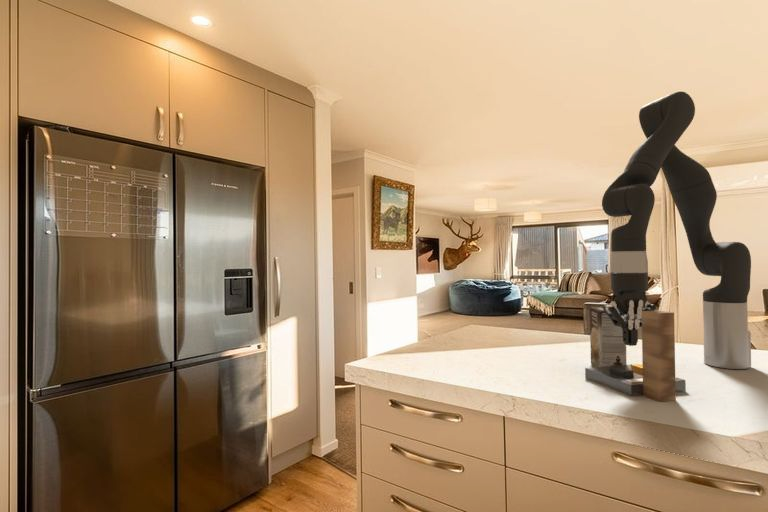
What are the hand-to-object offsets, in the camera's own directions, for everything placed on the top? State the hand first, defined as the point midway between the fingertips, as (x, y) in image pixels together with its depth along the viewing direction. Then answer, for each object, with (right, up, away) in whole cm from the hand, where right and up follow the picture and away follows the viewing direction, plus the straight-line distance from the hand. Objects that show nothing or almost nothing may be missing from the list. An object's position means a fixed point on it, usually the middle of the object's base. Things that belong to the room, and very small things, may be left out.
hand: (630, 344), depth 95 cm
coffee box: (+2, -9, +12) cm, 15 cm away
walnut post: (0, -9, -10) cm, 13 cm away
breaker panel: (0, -10, -1) cm, 10 cm away
